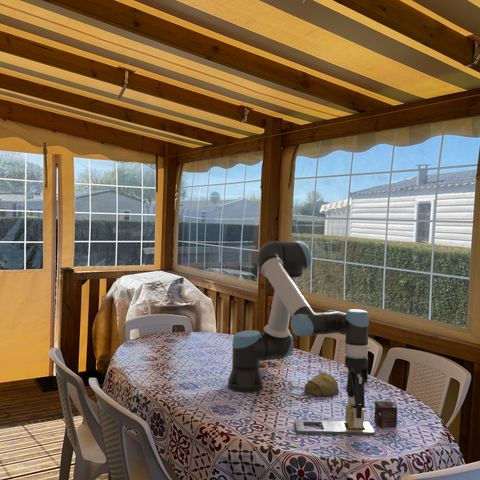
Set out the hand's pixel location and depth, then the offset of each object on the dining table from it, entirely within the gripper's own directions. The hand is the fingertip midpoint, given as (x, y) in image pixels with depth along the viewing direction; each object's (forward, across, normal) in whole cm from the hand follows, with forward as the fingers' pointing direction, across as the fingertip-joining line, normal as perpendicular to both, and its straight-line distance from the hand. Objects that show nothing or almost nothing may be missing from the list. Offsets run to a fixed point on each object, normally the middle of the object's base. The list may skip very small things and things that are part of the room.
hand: (354, 421), depth 171 cm
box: (+3, +5, -12) cm, 13 cm away
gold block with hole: (+3, 0, 0) cm, 3 cm away
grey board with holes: (+3, 0, +7) cm, 8 cm away
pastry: (+3, +38, +5) cm, 39 cm away
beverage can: (+3, +56, -15) cm, 58 cm away
